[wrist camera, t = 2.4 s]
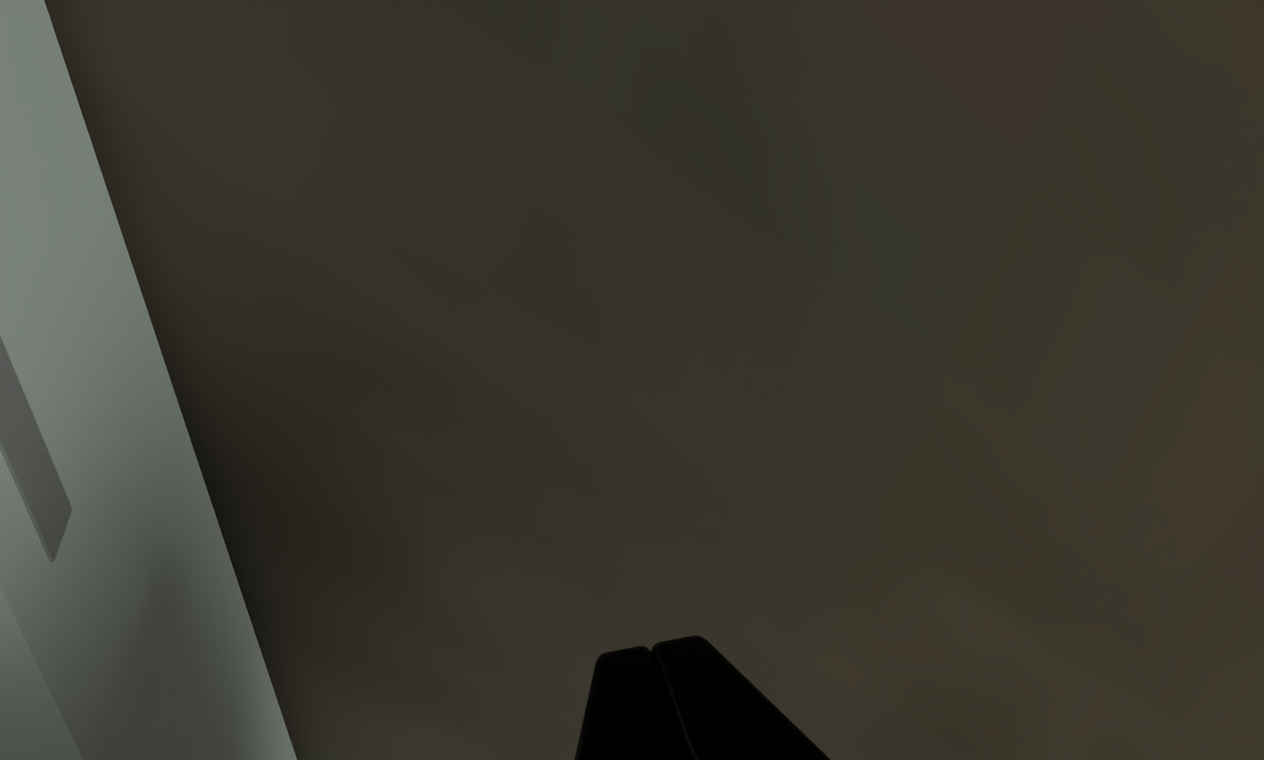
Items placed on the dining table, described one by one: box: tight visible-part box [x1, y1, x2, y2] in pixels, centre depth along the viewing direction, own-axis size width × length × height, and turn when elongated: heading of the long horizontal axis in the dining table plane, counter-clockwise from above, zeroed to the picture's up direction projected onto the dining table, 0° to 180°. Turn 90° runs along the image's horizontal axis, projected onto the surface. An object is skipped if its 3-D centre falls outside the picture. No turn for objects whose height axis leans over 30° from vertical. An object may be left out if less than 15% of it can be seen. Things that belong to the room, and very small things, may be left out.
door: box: [0, 0, 297, 760], centre depth 13 cm, size 15×1×6 cm, turn 4°
